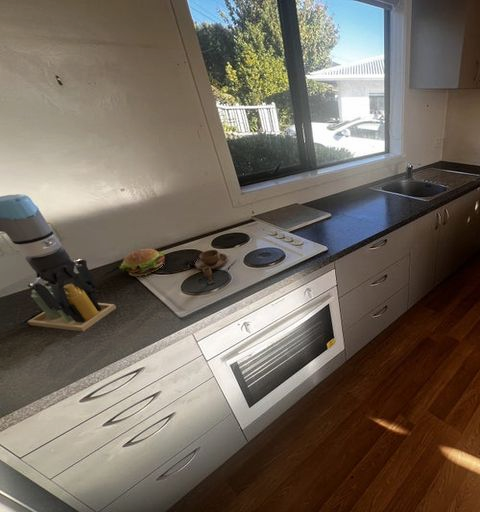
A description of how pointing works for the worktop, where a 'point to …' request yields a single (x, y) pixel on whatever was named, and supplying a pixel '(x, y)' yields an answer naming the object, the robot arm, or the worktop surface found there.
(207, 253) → the place setting
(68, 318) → the sage bottle
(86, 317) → the mustard bottle
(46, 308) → the sage bottle
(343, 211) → the worktop surface
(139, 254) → the food
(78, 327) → the tray
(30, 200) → the robot arm
